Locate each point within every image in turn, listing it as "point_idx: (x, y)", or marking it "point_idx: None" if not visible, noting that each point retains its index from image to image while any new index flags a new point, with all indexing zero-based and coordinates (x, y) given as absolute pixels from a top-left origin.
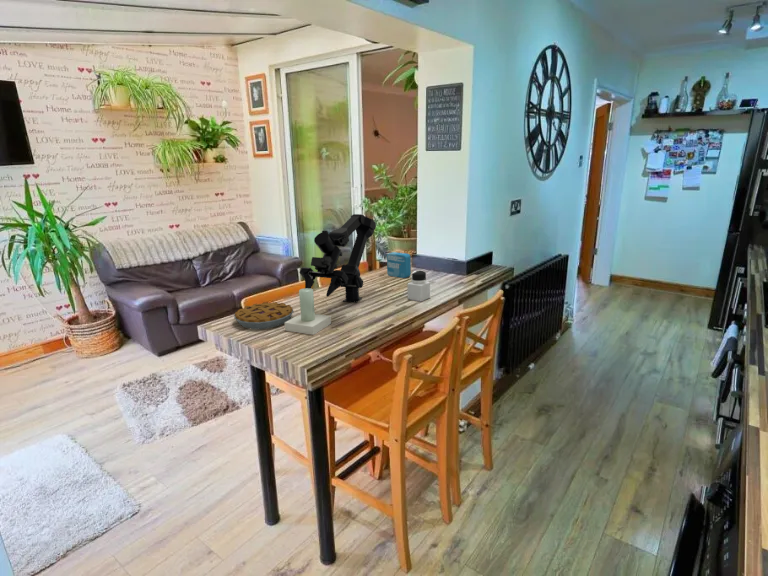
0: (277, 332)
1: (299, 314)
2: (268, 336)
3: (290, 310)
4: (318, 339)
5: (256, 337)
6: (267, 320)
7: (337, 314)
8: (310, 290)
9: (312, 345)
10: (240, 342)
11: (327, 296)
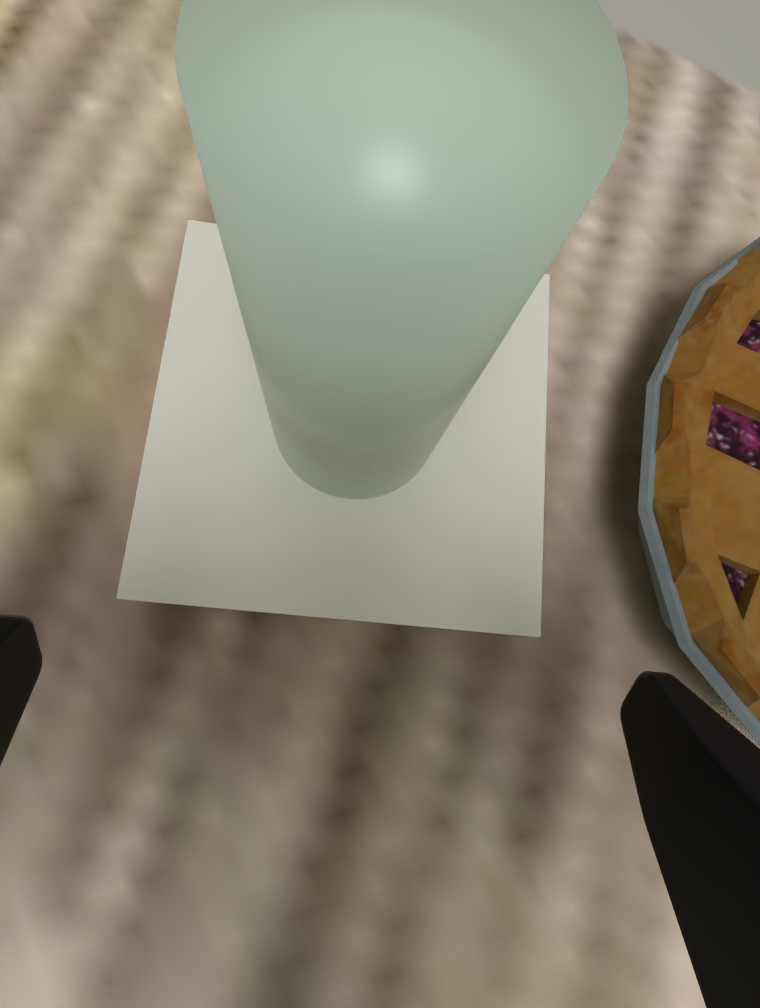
0: (555, 270)
1: (541, 544)
2: None
3: (711, 604)
4: (115, 196)
5: (646, 153)
6: (738, 270)
7: (192, 950)
8: (249, 49)
9: (116, 83)
10: (689, 61)
11: (23, 647)
